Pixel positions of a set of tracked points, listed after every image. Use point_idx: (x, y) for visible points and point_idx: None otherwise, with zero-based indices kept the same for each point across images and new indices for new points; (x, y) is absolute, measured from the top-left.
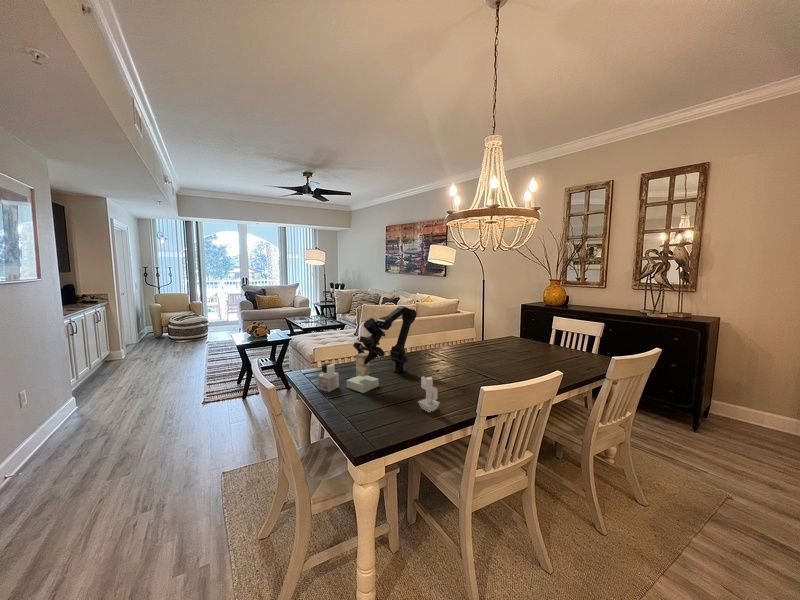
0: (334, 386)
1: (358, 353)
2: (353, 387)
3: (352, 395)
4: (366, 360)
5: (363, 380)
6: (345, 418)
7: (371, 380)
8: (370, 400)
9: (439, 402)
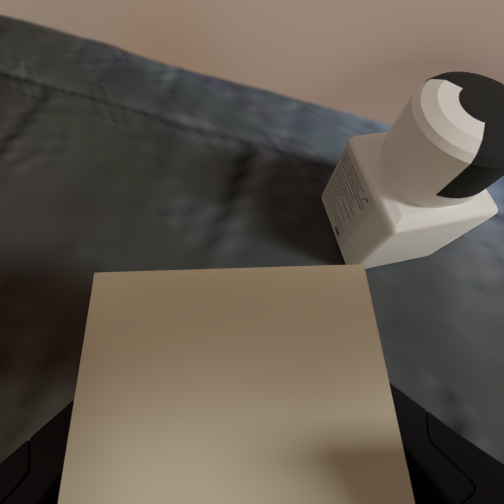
0: (338, 225)
1: (471, 457)
2: None
3: (185, 241)
4: None
5: None
6: (47, 82)
7: None
8: (45, 258)
9: None
